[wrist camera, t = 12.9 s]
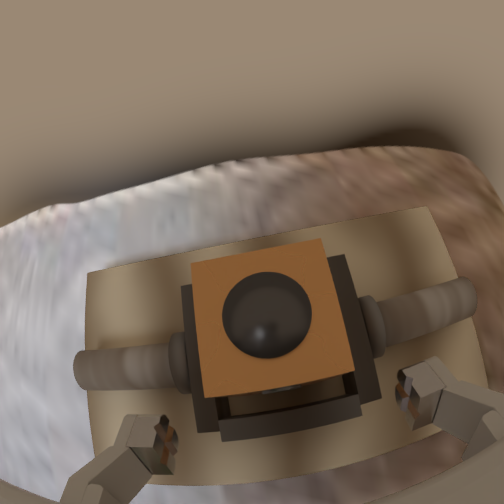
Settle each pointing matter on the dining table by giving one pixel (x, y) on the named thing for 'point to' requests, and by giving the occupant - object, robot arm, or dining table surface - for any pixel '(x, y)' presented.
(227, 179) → the dining table surface
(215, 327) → the block
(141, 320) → the base
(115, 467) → the robot arm
